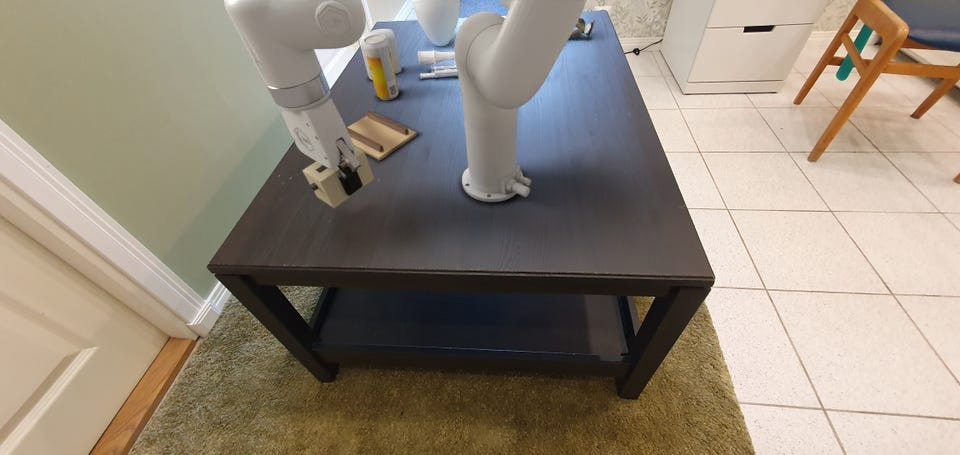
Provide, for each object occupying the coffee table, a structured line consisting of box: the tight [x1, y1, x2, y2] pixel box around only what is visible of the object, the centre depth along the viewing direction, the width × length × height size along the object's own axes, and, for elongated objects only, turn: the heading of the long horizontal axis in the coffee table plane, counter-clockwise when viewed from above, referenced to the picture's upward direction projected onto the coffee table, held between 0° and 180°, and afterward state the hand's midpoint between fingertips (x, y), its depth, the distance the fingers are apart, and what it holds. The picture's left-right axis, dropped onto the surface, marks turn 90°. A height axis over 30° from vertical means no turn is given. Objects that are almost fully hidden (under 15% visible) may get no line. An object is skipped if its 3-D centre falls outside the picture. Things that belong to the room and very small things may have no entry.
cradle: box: [346, 110, 418, 161], centre depth 89 cm, size 12×16×2 cm
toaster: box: [302, 147, 375, 209], centre depth 63 cm, size 5×10×6 cm, turn 142°
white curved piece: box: [359, 28, 402, 81], centre depth 107 cm, size 10×4×12 cm, turn 123°
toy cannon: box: [417, 49, 458, 80], centre depth 108 cm, size 8×14×5 cm
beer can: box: [364, 35, 400, 101], centre depth 97 cm, size 6×6×15 cm
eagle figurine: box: [569, 17, 596, 40], centre depth 120 cm, size 8×7×9 cm
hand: (344, 183), depth 65 cm, fingers closed on toaster, 5 cm apart
